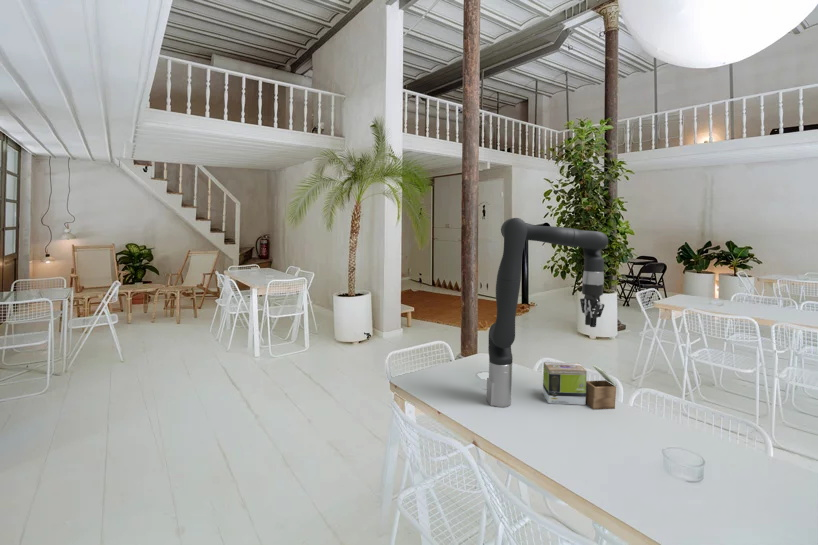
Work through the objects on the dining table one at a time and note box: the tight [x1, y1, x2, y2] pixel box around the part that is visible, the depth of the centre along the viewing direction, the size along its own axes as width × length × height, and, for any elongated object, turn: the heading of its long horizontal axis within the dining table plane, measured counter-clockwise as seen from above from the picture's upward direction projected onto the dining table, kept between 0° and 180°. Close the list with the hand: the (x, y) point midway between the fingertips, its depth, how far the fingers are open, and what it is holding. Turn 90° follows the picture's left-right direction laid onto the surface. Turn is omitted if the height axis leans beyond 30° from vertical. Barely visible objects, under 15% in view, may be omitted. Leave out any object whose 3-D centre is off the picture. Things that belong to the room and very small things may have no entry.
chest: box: [585, 379, 617, 410], centre depth 165 cm, size 9×7×9 cm
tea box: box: [542, 361, 588, 406], centre depth 170 cm, size 15×10×15 cm, turn 84°
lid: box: [591, 364, 617, 387], centre depth 164 cm, size 9×7×1 cm
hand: (590, 325), depth 161 cm, fingers open, 3 cm apart
